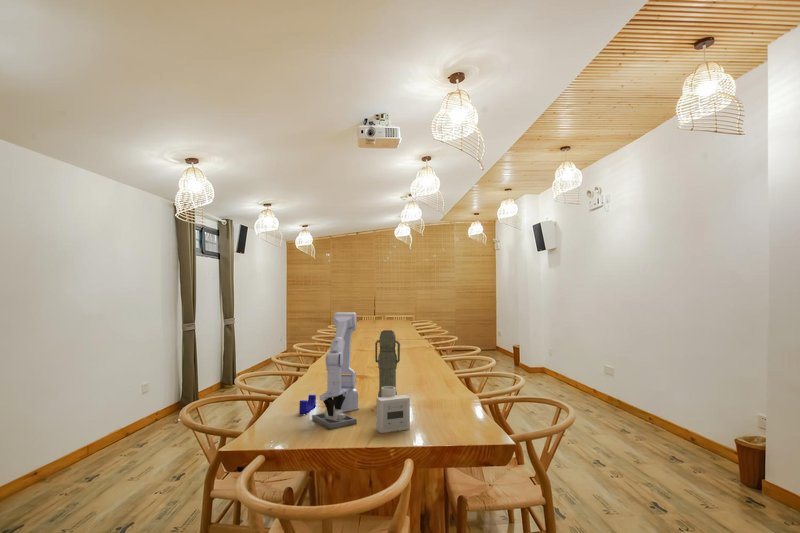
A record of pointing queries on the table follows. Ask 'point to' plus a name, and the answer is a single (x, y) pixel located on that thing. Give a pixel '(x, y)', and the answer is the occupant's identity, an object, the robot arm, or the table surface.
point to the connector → (335, 415)
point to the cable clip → (307, 404)
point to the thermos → (387, 359)
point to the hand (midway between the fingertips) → (334, 414)
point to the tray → (332, 423)
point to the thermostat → (392, 411)
